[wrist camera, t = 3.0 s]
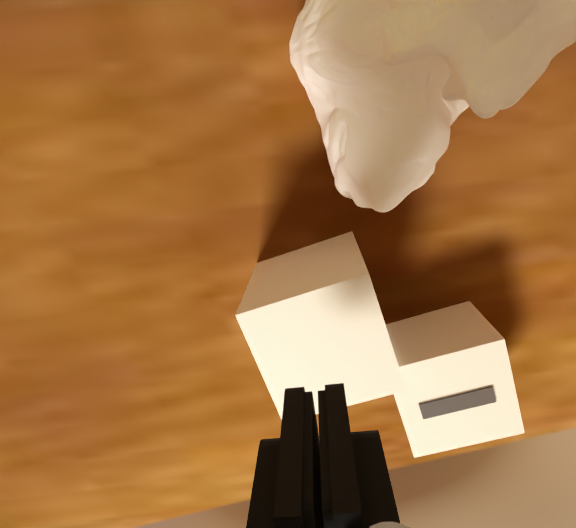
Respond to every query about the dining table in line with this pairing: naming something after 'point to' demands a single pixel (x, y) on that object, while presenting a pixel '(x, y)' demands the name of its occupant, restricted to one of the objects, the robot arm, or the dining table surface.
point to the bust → (415, 79)
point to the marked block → (453, 380)
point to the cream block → (319, 324)
